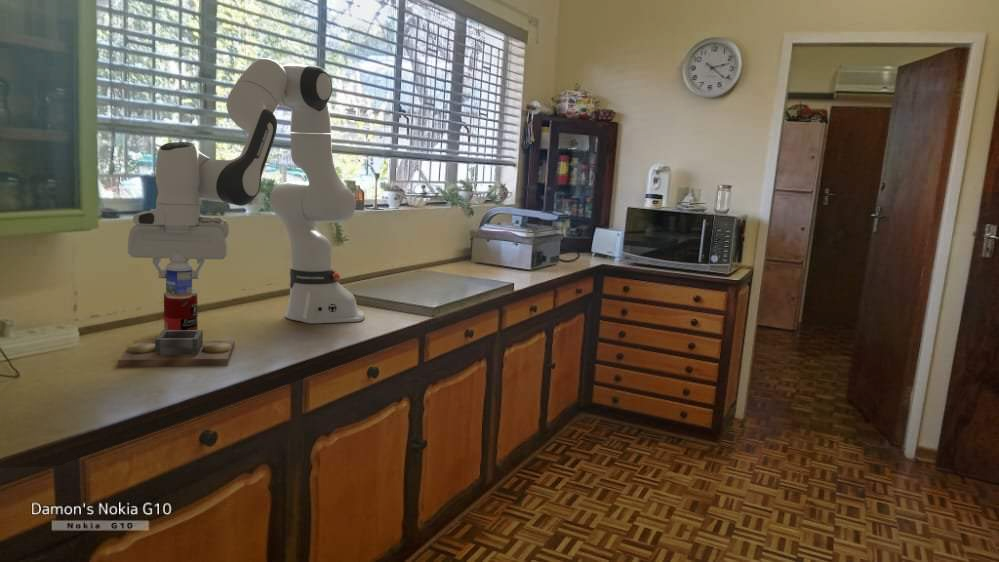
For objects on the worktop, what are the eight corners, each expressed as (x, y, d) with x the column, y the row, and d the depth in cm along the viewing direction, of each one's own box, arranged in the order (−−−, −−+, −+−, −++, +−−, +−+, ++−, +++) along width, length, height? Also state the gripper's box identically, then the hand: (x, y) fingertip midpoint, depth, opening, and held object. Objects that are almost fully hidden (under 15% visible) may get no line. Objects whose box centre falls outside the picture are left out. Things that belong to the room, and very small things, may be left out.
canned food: (185, 338, 179) (185, 295, 177) (157, 335, 180) (156, 292, 178) (204, 332, 186) (203, 290, 184) (176, 328, 188) (176, 287, 186)
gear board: (234, 346, 174) (234, 326, 174) (227, 365, 159) (227, 343, 158) (135, 347, 169) (134, 326, 168) (118, 366, 153) (117, 344, 153)
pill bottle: (161, 296, 161) (161, 253, 160) (185, 294, 165) (185, 252, 164) (172, 300, 158) (172, 256, 156) (196, 297, 162) (196, 255, 160)
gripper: (229, 217, 165) (230, 276, 167) (131, 213, 159) (133, 274, 161) (227, 219, 159) (227, 281, 161) (124, 215, 153) (126, 279, 155)
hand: (179, 278), depth 161 cm, fingers closed on pill bottle, 5 cm apart
